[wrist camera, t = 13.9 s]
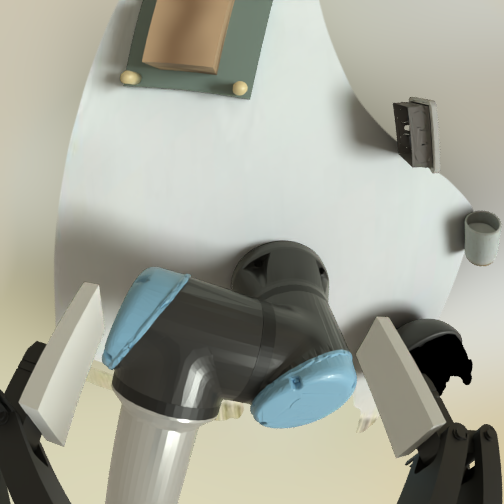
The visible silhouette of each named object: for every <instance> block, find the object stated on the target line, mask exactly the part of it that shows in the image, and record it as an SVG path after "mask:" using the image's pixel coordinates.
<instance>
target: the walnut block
mask: <svg viewBox="0 0 504 504" xmlns="http://www.w3.org/2000/svg"><path fill="white" fill-rule="evenodd" d="M234 1H235V0H157V2H156V6H155V9H154V13H153V17H152V20H151V24H150V28H149V32H148V36H147V41H146V45H145V50H144V54H143V59H142V62H143V63H146V64H148V65H151V66H153V67H156V68H158V69H160V70H174V71H186V72H195V73H204V74H212V75H217V72H218V68H219V63H220V58H221V54H222V50H223V45H224V41H225V37H226V33H227V29H228V25H229V21H230V17H231V13H232V9H233V5H234Z"/></svg>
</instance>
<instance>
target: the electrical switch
mask: <svg viewBox="0 0 504 504" xmlns="http://www.w3.org/2000/svg"><path fill="white" fill-rule="evenodd" d="M393 108H394V116H395V124H396V133H397V143H398V153H400V154H399V155H400V156H401V157H402V158H403V159H404V160H406V161H407V162H408V163H409V164H410V165H411V166H412V167H425V168H427V167H428V168H429V169H431V172H432V173H439V172H440V145H439V144H440V143H439V126H438V115H437V105H436V103H435V101H432V100H428V99H422V98H417V97H410V98H409V102H401V103H393ZM397 117H398V118H397ZM401 121H402V122H401ZM407 121H408V122H407ZM403 122H406V123H403ZM405 125H410V131H407V130H405V129H404V126H405ZM409 133H410V134H409ZM403 134H404V135H403ZM405 134H409V135H405ZM400 137H401V138H400ZM406 147H408V148H406ZM411 149H412V150H411Z"/></svg>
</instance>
